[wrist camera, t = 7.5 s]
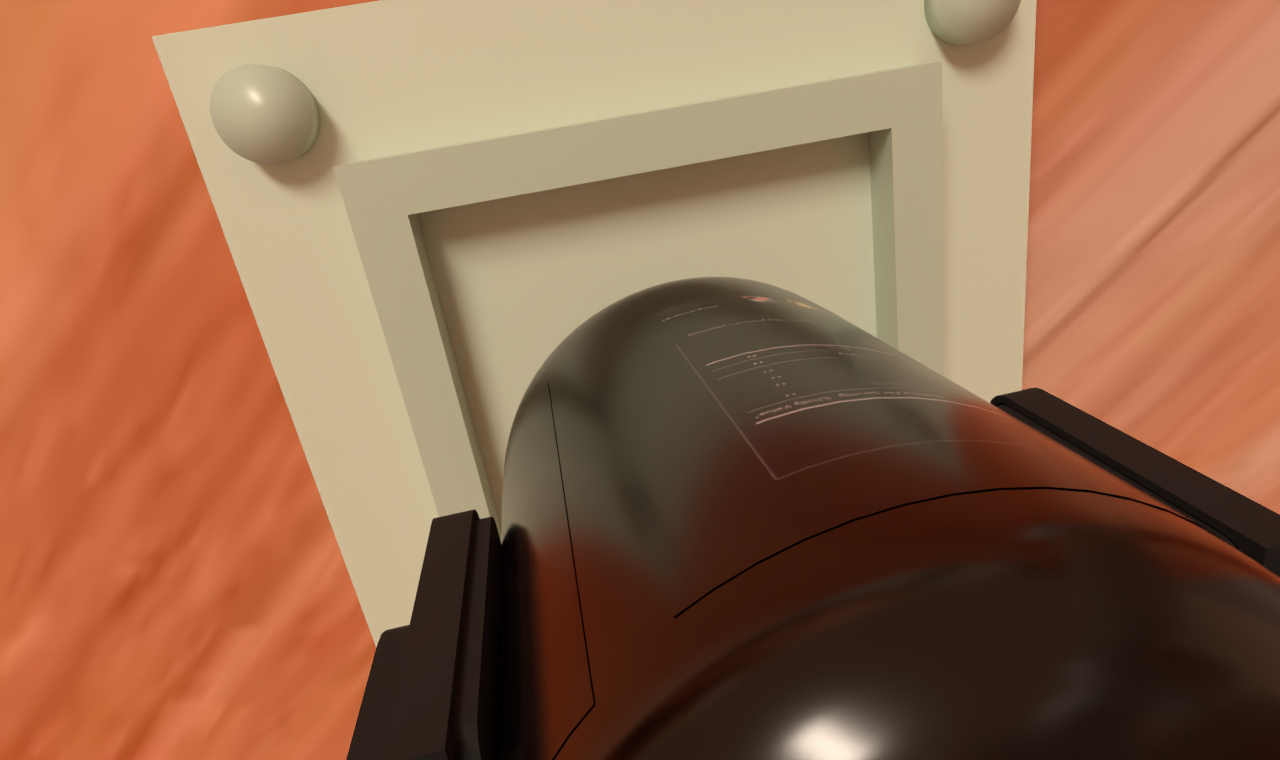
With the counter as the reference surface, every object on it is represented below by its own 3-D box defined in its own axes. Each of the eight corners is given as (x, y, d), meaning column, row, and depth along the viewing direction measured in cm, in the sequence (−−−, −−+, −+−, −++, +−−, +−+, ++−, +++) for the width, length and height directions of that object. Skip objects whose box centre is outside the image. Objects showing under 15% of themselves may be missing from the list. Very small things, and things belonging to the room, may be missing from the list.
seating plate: (1001, -88, 15) (1077, -119, 13) (987, 569, 21) (1038, 620, 18) (182, 42, 13) (120, 30, 11) (416, 702, 19) (403, 772, 17)
